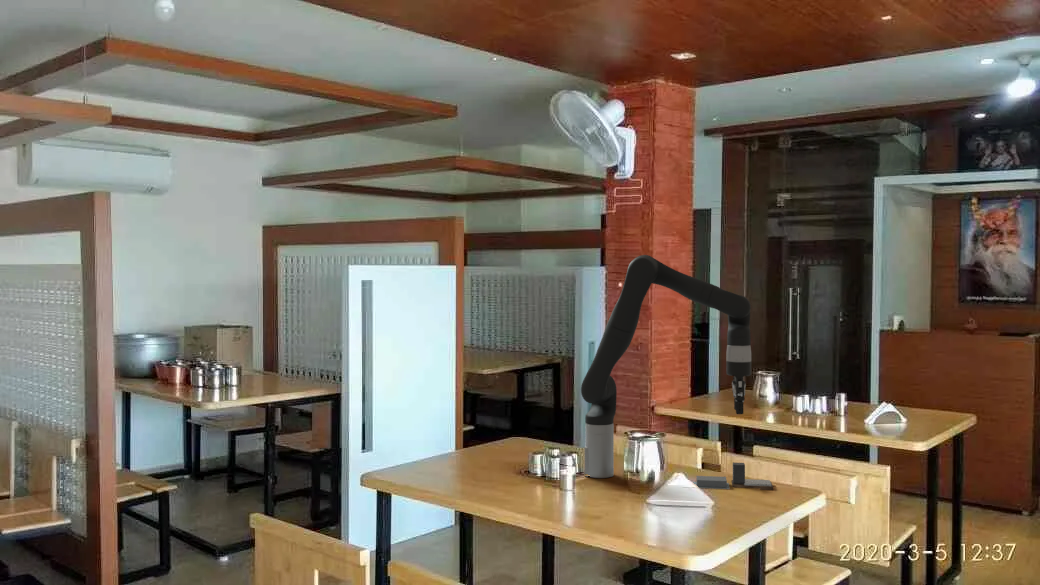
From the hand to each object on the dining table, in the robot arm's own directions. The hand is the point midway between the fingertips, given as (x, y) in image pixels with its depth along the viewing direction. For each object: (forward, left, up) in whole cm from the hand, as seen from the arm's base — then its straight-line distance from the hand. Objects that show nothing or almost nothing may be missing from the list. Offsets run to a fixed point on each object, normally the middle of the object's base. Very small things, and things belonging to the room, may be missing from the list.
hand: (738, 412), depth 276 cm
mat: (-10, -2, -23) cm, 25 cm away
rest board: (+4, 0, -23) cm, 23 cm away
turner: (+4, 0, -22) cm, 22 cm away
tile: (-13, -2, -22) cm, 25 cm away
